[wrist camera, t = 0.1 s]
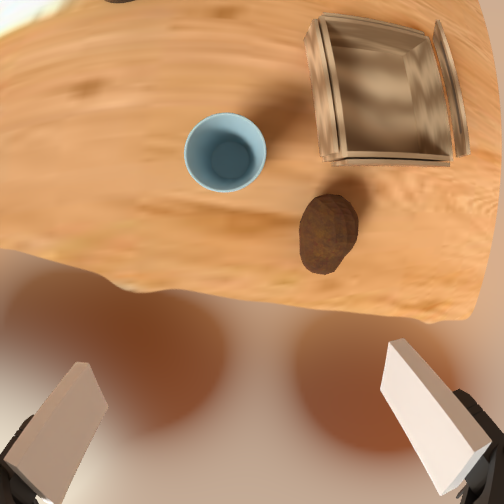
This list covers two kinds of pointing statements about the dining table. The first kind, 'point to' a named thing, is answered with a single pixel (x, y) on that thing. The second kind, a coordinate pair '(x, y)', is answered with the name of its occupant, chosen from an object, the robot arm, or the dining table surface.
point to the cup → (225, 152)
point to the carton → (376, 94)
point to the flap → (452, 91)
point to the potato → (327, 233)
